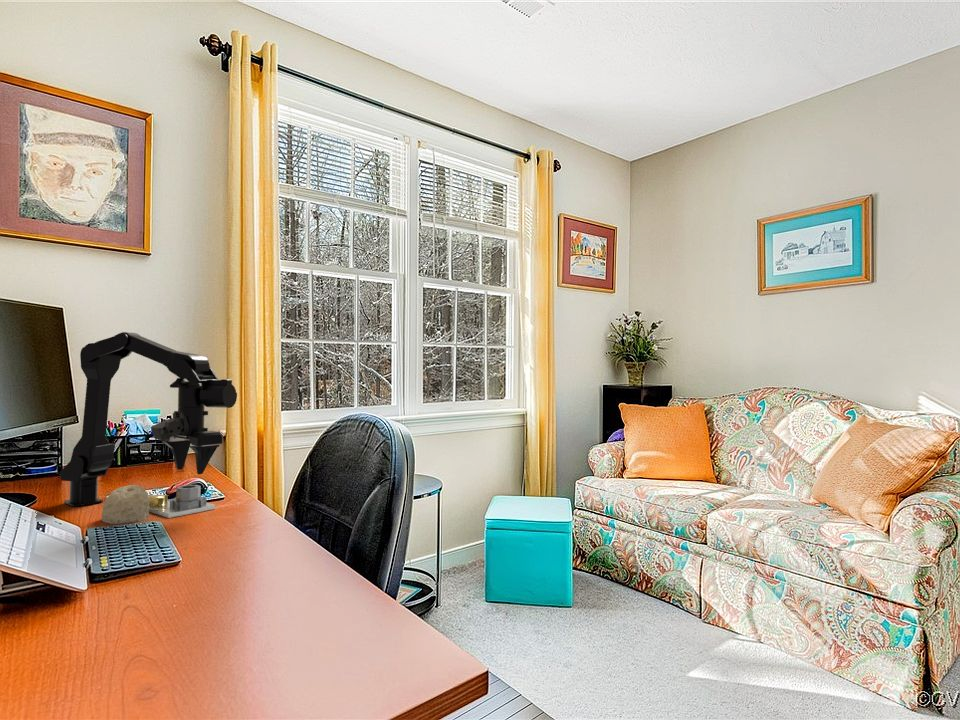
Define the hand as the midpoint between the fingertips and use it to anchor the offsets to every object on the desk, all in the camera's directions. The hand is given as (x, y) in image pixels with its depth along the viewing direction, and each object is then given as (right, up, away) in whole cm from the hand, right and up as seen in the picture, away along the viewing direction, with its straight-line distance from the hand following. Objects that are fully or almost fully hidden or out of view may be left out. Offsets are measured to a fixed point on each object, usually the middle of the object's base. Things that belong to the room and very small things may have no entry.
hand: (189, 471), depth 138 cm
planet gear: (0, -8, 0) cm, 8 cm away
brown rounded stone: (-10, -9, -9) cm, 16 cm away
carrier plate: (-3, -9, +1) cm, 10 cm away
